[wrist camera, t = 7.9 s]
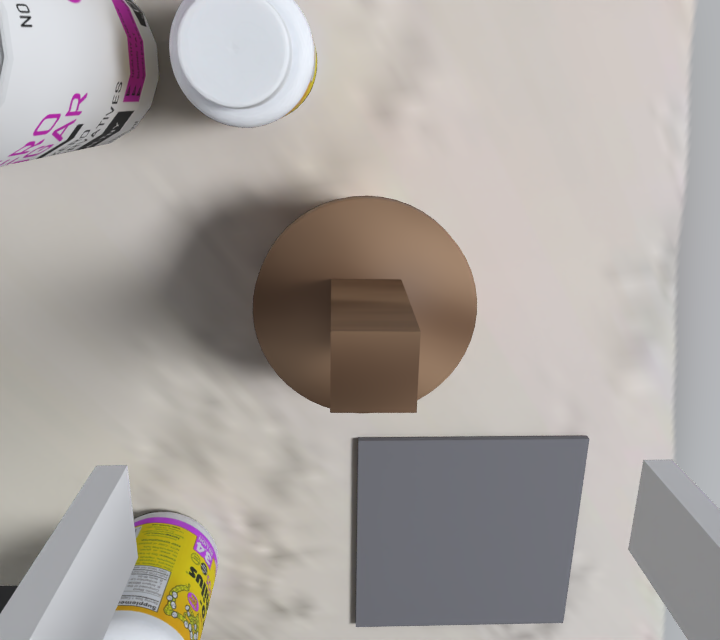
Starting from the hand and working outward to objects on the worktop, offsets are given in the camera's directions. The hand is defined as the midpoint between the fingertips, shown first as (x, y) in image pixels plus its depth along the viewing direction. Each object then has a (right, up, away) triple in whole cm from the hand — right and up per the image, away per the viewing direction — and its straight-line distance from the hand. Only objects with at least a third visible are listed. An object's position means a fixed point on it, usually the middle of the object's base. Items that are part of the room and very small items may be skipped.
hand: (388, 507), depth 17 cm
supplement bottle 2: (-6, +18, +16) cm, 24 cm away
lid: (0, +6, +15) cm, 16 cm away
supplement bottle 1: (-13, -10, +25) cm, 30 cm away
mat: (+6, -9, +25) cm, 27 cm away
